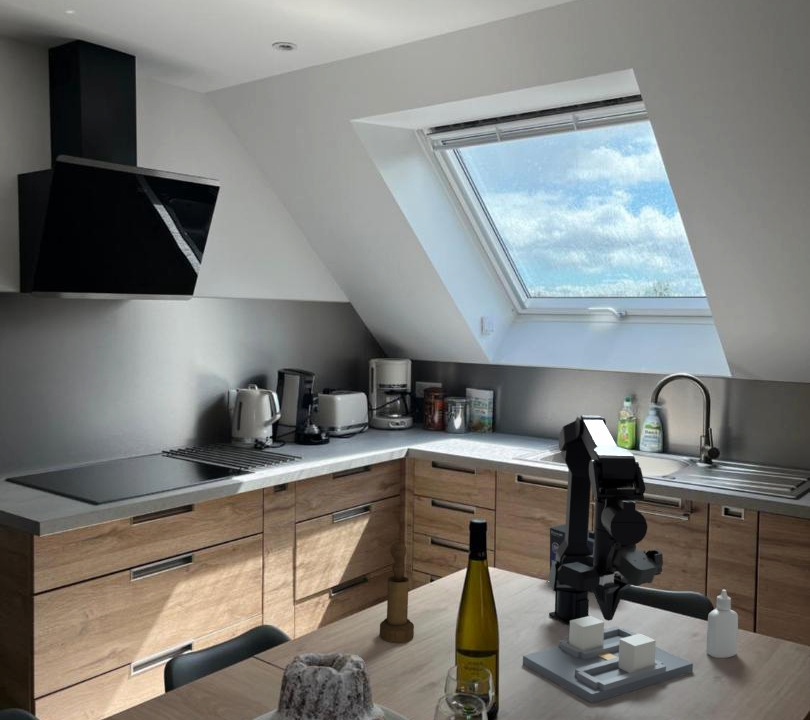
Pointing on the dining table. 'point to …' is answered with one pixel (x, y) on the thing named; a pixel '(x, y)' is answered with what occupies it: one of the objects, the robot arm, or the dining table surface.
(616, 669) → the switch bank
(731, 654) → the eye dropper bottle
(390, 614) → the mortar and pestle
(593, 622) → the tab
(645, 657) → the tab
